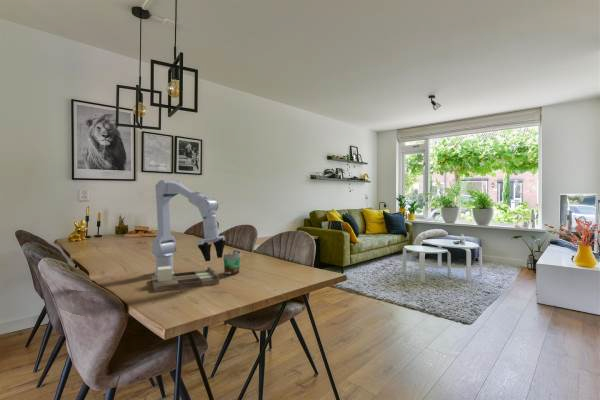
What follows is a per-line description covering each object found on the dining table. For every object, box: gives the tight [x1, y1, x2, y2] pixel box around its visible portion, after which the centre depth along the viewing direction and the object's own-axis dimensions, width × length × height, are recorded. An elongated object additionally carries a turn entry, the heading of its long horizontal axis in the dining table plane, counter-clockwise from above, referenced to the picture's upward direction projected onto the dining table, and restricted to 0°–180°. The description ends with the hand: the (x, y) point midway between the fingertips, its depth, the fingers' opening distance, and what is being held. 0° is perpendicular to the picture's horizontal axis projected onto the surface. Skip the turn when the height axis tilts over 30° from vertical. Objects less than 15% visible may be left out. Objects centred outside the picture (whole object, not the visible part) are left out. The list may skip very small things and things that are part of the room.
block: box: [158, 266, 172, 282], centre depth 131 cm, size 5×5×5 cm
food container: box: [222, 249, 243, 276], centre depth 150 cm, size 12×6×10 cm, turn 168°
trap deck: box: [150, 266, 220, 293], centre depth 135 cm, size 18×25×4 cm
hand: (214, 259), depth 132 cm, fingers open, 7 cm apart
